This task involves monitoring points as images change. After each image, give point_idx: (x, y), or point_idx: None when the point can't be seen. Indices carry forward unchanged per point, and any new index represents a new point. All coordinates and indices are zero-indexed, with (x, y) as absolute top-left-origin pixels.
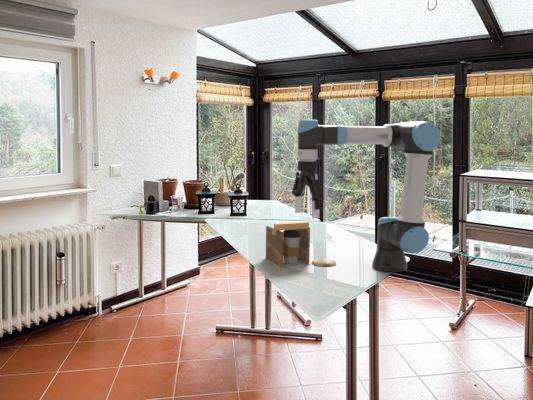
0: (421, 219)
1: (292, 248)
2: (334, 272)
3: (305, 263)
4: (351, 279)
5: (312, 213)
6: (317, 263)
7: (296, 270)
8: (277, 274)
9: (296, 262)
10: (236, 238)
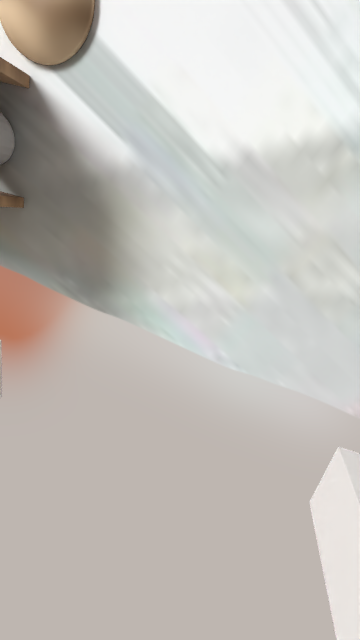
0: None
1: None
2: (173, 65)
3: (17, 85)
4: (289, 75)
5: (327, 552)
6: (47, 45)
7: (80, 188)
8: (89, 275)
9: (9, 127)
10: None
